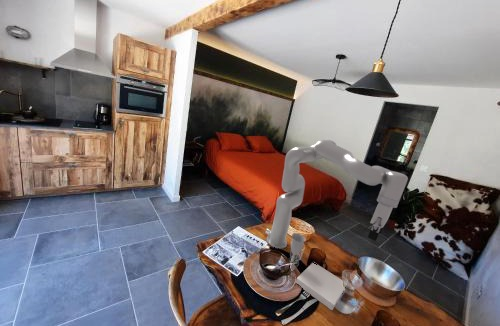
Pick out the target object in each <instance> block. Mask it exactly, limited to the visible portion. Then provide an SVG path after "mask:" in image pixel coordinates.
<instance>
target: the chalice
mask: <svg viewBox="0 0 500 326" xmlns="http://www.w3.org/2000/svg"><path fill="white" fill-rule="evenodd" d="M291 237H292V239H291V242H290V249H291V254H292V255H291V258H290V262H293V264H292V265H291V269H292V270H294V269H295V270H296V268H295V267H296V266H295V265H296V264H294V261H295V258H296V255H298V254H299V253H300V252H301V251H302V250H303V247H304V244H305V242H307V241H306V237H305V236H304V235H302V234H300V233H293V234H292V235H291Z"/></svg>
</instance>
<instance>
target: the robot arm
mask: <svg viewBox="0 0 500 326" xmlns="http://www.w3.org/2000/svg"><path fill="white" fill-rule="evenodd" d="M321 159H323V160H325V161H327V162H329V163H331V164H333V165H335V166H337V167H339V168H340V169H342V170H343V171H344V172H345V173H346V174H347V175H349V176H350V177H352V178H353V179H356V180H357V181H359V182H361V183H363V184H365V185H368V186H377V185H379V184H382V185H381V189H380V191H379V193H378V196H377V198H376V201H377V203H378V204H377V206H376V208H375V210H374V213H373V215H372V217H371V220H370V222H369V223H370V224H372V226H371V229H370V230H369V232H368V235H367V238H368V239H370V240H372V241H374V242H376V241H377V240H378V237H379V234H382V232H383V231H382V230H383V228H384V226H385V225H386V224H387V222H388V220H389V218H390V215H391V213H392V211H393V208H394V209H395V208H396V209H397V208H398V205H399V202H400V201H401V197H402V196H403V192H404V190H405V187H406V185H407V183H408V180H409V178H408V176H407V175H406V174H404V173H401V172H398V171H393V170H390V169H388V168H385V167H383V166H380V165H372V166H371V165H370V164H366V163H364V162H363V161H361V160H359V159H358V158H356V157H355V156H354V155H353V153H352V152H351V151H349V150H347V149H346V148H343V147H341V146H339V145H337V143H336V142H335V141H333V140H330V139H321V140H318V141H317V142H316V143H315V144H313V145H310V146H296V147H293V148H291V149H290V150H288V152H287V153H286V155H285V158H284V168H283V174H282V179H281V188H282V190H283V192H285V193H282V194H281V195H280V196H279V197H277V198H276V206H275V212H274V218H273V223H272V226H271V230H270V228H266V230H265V232H264V233H265V234H266V235H267V236H266V243H267V244H268V245H269V246H270V247H272V248H274V247H275V249H278V248H279V249H280V250H283V249H285V248H286V247H287V246H288V241H287V237H288V233H289V232H288V231H289V228H290V225H291V222H292V221H291V220H292V210H294V209H295V208H297V207H299V206H300V205H301V204H302V203H303V201H304V200H303V199H304V194H305V186H306V181H305V177H303V175H302V174H301V173H300V171H301V170H300V164H301V163H302V164H303V163H310V162H314V161H318V160H321ZM279 249H278V250H279Z"/></svg>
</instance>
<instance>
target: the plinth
mask: <svg viewBox="0 0 500 326" xmlns="http://www.w3.org/2000/svg"><path fill="white" fill-rule="evenodd" d="M314 263H315V262H314ZM314 263H313V262H311V263H310V265H308V267H306V269H305V270H303V272H301V273H300V274H299V276H297V278H296V279H295V284H296V283H297V284H299V285H300V286H301V287H302V288H303V289H302V288H301V287H300V286H299V287H300V288H301V289H302V290H304V291H305V292H307V293H308V294H309V295H310V294H311V295H310V296H312V297H313V298H315V300H317V301H318V302H320V303H321V304H322V305H324V306H325V307H326V308H328V309H329V310H331V311H334V308H335V307H336V306H337V303H338V302H339V301H340V299H341V297H342V296H341V295H343V294H344V292H345V291H344V289H345V288H344V287H343V286H342V285H343V281H344V280H342V279H341V278H340V277H338V276H337V275H334V274H333V273H331V272H330V271H329V270H326V269H325V268H324V267H322V266H320V265H319V264H317V263H316V264H317V265H316V264H314ZM297 284H296V285H297ZM345 290H346V289H345ZM343 291H344V292H343ZM342 293H343V294H342ZM339 298H340V299H339Z"/></svg>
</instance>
